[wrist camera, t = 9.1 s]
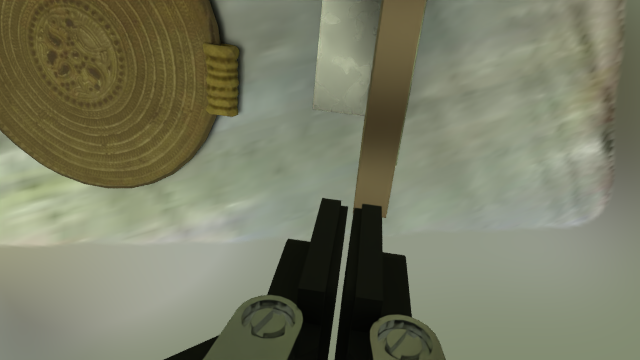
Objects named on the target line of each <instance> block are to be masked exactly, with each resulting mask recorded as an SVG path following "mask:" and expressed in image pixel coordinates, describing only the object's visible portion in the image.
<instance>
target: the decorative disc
mask: <svg viewBox="0 0 640 360" xmlns="http://www.w3.org/2000/svg"><path fill="white" fill-rule="evenodd" d="M238 56H239V49H238V48H237V47H236V46H233V45H229V44H223V43H221V42H220V36H219V30H218V25H217V22H216V19H215V16H214V13H213V10H212V7H211V4H210V2H209V0H0V130H1V132H2V133H3V134H5V135H6V136H7V137H8V138H9V139H10V140H11V141H12V142H13V143H14V144H15V145H17V146H18V147H19V148H21V149H22V150H23V151H24V152H26V153H27V154H28V155H30V156H31V157H32V158H33V159H35V160H36V161H37V162H39V163H40V164H42V165H44V166H45V167H47V168H49V169H51V170H53V171H54V172H56V173H58V174H60V175H62V176H65V177H68V178H70V179H73V180H76V181H78V182H81V183H84V184H88V185H94V186H99V187H104V188H135V187H139V186H144V185H148V184H153V183H155V182H157V181H159V180H162V179H164V178H166V177H168V176H170V175H172V174H174V173H175V172H176V171H178V170H179V169H180V168H181V167H183V166H184V165H185V164H186V163H187V162H189V161H190V160H191V159H192V158H193V157H194V155H195V154H196V153H197V151H198V150H199V149H200V147H201V146H202V145H203V143H204V142H205V141H206V139H207V137H208V134H209V132H210V130H211V128H212V126H213V123H214V121H215V119H216V117H217V115H223V116H230V117H233V116H236V115H238V109H237V104H238V98H237V96H238V94H239V93H238V89H237V87H238V85H239V81H238V77H237V76H238V70H237V67H238V62H237V58H238Z"/></svg>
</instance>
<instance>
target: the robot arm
mask: <svg viewBox="0 0 640 360" xmlns="http://www.w3.org/2000/svg"><path fill="white" fill-rule="evenodd" d="M347 211H348V207H347V206H341V201H340V200H332V199H325V198H322V201H321V204H320V208H319V212H318V216H317V219H316V223H315V227H314V230H313V234H312V238H311V242H307V241H300V240H294V239H288V240H287V242H286V245H285V247H284V250H283V253H282V255H281V258H280V261H279V264H278V266H277V269H276V272H275V275H274V277H273V280H272V283H271V286H270V289H269V292H268V294H267V295H264V296H258V297H254V298H251V299H249V300H247V301H246V302H244V303H243V304H242V305H241V306H240V307H239V308H238V309H237V310H236V312H235V313H234V315H233V316H232V318H231V319H230V320H229V322H228V323H227V325H226V327H225V328H224V330H223V331H222V332H221V334H220V335H219V336H216V337H214V338H212V339H210V340H207V341H205V342H203V343H200V344H198V345H196V346H194V347H191V348H189V349H187V350H185V351H182V352H180V353H178V354H176V355H173V356H171V357H169V358H167V359H164V360H328V354H329V346H330V339H331V331H332V324H333V317H334V310H335V303H336V295H337V288H338V280H339V272H340V264H341V257H342V249H343V242H344V234H345V226H346V219H347ZM335 360H446V359H445V356H444V353H443V350H442V347H441V344H440V342H439V340H438V338H437V336H436V334H435V333H434V332H433V331H432V330H431V329H430V328H429V327H428V326H427V325H425V324H424V323H422V322H420V321H419V320H417V319H414V318H412V314H411V305H410V295H409V284H408V275H407V265H406V257H405V256H404V255H397V254H391V253H384V252H382V206H377V205H369V204H362V209H361V208H354V213H353V220H352V227H351V234H350V242H349V250H348V257H347V263H346V271H345V278H344V286H343V293H342V301H341V310H340V318H339V327H338V335H337V344H336V352H335Z"/></svg>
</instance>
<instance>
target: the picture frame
mask: <svg viewBox="0 0 640 360" xmlns="http://www.w3.org/2000/svg"><path fill="white" fill-rule="evenodd" d="M426 2H427V0H382V1H381V8H380V15H379V22H378V29H377V36H376V43H375V50H374V57H373V64H372V71H371V78H370V85H369V92H368V99H367V106H366V113H365V119H364V126H363V134H362V142H361V150H360V159H359V167H358V175H357V184H356V192H355V200H354V208H361V209H362V204H369V205H377V206H382V217H383V218H386V214H387V209H388V203H389V198H390V192H391V187H392V181H393V176H394V170H395V165H397V160H398V155H399V149H400V144H401V138H402V133H403V127H404V122H405V116H406V111H407V105H408V100H409V95H410V89H411V84H412V78H413V73H414V67H415V62H416V56H417V51H418V45H419V40H420V35H421V29H422V24H423V18H424V13H425V7H426ZM354 208H353V213H354Z"/></svg>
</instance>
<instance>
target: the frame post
mask: <svg viewBox="0 0 640 360" xmlns="http://www.w3.org/2000/svg"><path fill="white" fill-rule="evenodd" d="M381 1H382V0H322V10H321V21H320V32H319V43H318V54H317V65H316V77H315V88H314V99H313V110H321V111H329V112H337V113H345V114H352V115H360V116H365V113H366V106H367V99H368V92H369V85H370V78H371V71H372V64H373V57H374V50H375V43H376V36H377V29H378V22H379V15H380V8H381Z"/></svg>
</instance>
